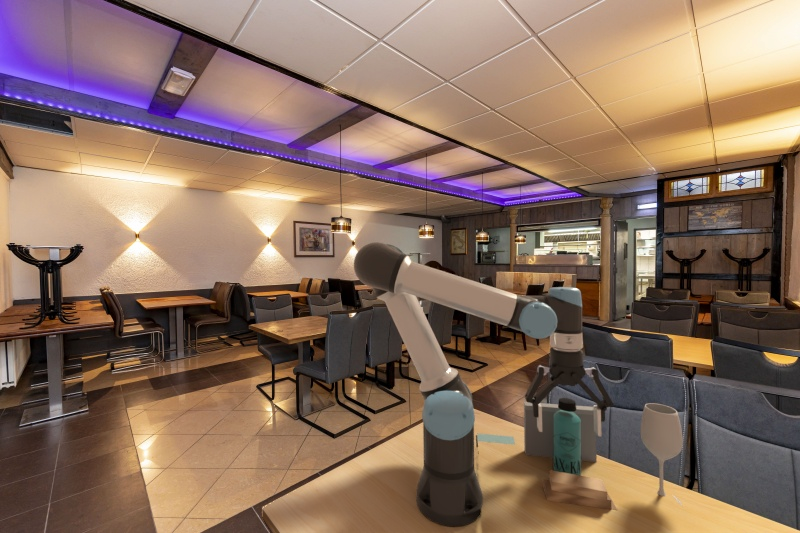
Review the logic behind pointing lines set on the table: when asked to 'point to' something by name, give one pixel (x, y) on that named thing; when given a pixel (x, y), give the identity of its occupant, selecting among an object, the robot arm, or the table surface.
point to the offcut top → (578, 485)
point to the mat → (495, 439)
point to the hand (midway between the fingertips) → (568, 431)
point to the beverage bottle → (567, 438)
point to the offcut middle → (573, 497)
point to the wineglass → (661, 435)
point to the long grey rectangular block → (543, 441)
